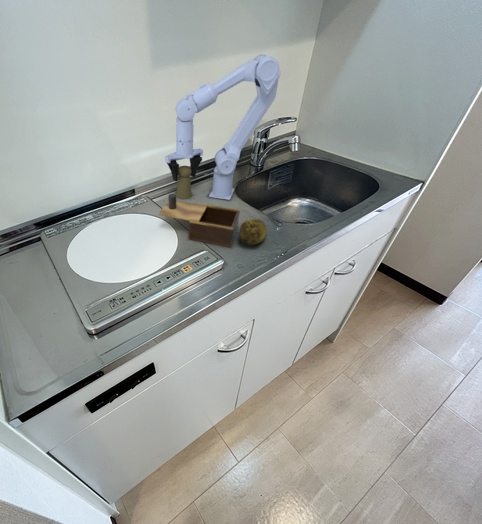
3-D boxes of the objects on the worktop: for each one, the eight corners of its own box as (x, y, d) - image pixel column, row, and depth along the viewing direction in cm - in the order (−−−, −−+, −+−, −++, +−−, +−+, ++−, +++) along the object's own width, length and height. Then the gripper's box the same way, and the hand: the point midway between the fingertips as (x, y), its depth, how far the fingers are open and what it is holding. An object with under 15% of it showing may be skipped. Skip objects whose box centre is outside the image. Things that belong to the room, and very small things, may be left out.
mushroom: (192, 191, 109) (193, 163, 102) (191, 199, 105) (192, 170, 98) (176, 191, 110) (176, 163, 103) (175, 198, 105) (175, 169, 98)
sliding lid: (169, 201, 91) (169, 187, 88) (207, 207, 87) (208, 193, 84) (158, 215, 84) (157, 201, 81) (198, 222, 81) (199, 208, 78)
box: (199, 221, 93) (200, 203, 88) (237, 227, 89) (240, 209, 85) (189, 239, 84) (189, 221, 80) (230, 247, 81) (233, 228, 77)
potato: (276, 238, 84) (283, 215, 79) (251, 256, 78) (256, 232, 73) (253, 227, 89) (258, 205, 84) (227, 243, 83) (230, 220, 77)
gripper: (172, 146, 89) (172, 186, 97) (209, 139, 94) (206, 177, 103) (161, 140, 93) (163, 179, 102) (197, 134, 99) (195, 171, 108)
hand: (184, 178), depth 103 cm, fingers open, 7 cm apart
